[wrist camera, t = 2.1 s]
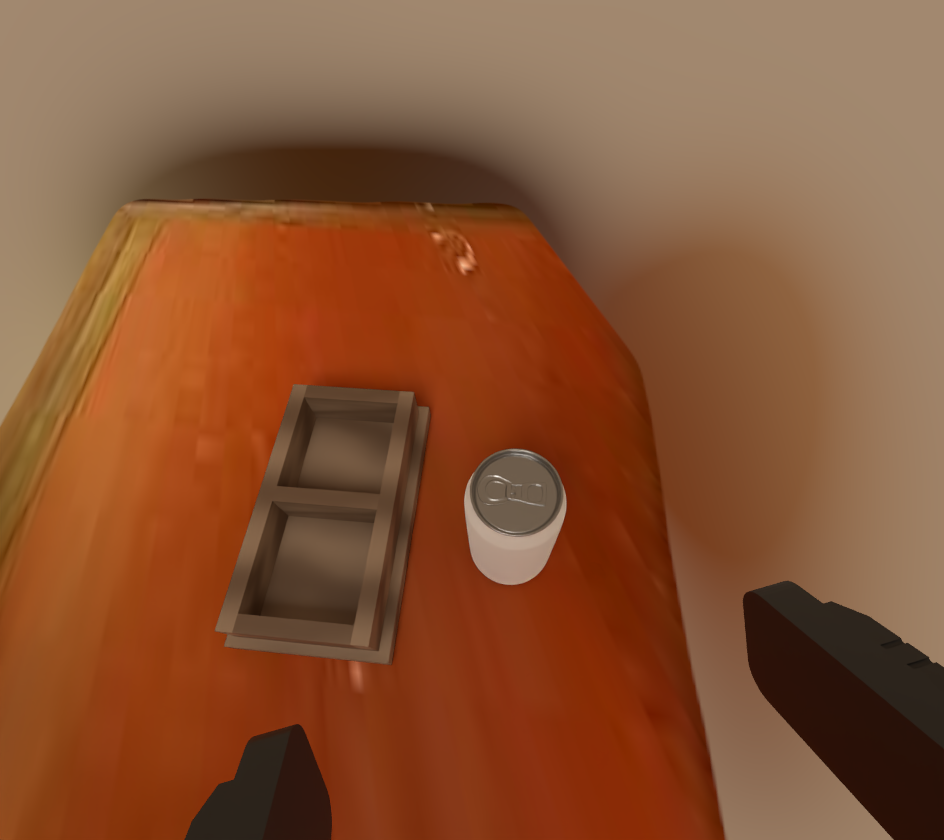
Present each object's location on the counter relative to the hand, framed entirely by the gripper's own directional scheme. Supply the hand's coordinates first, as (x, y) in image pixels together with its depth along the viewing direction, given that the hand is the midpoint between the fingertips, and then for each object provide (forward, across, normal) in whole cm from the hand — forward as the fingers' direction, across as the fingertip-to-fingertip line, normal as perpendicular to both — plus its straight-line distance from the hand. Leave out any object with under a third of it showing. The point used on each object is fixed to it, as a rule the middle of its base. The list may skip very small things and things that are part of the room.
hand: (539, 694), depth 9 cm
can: (+29, +3, -14) cm, 32 cm away
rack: (+33, -10, -9) cm, 35 cm away
